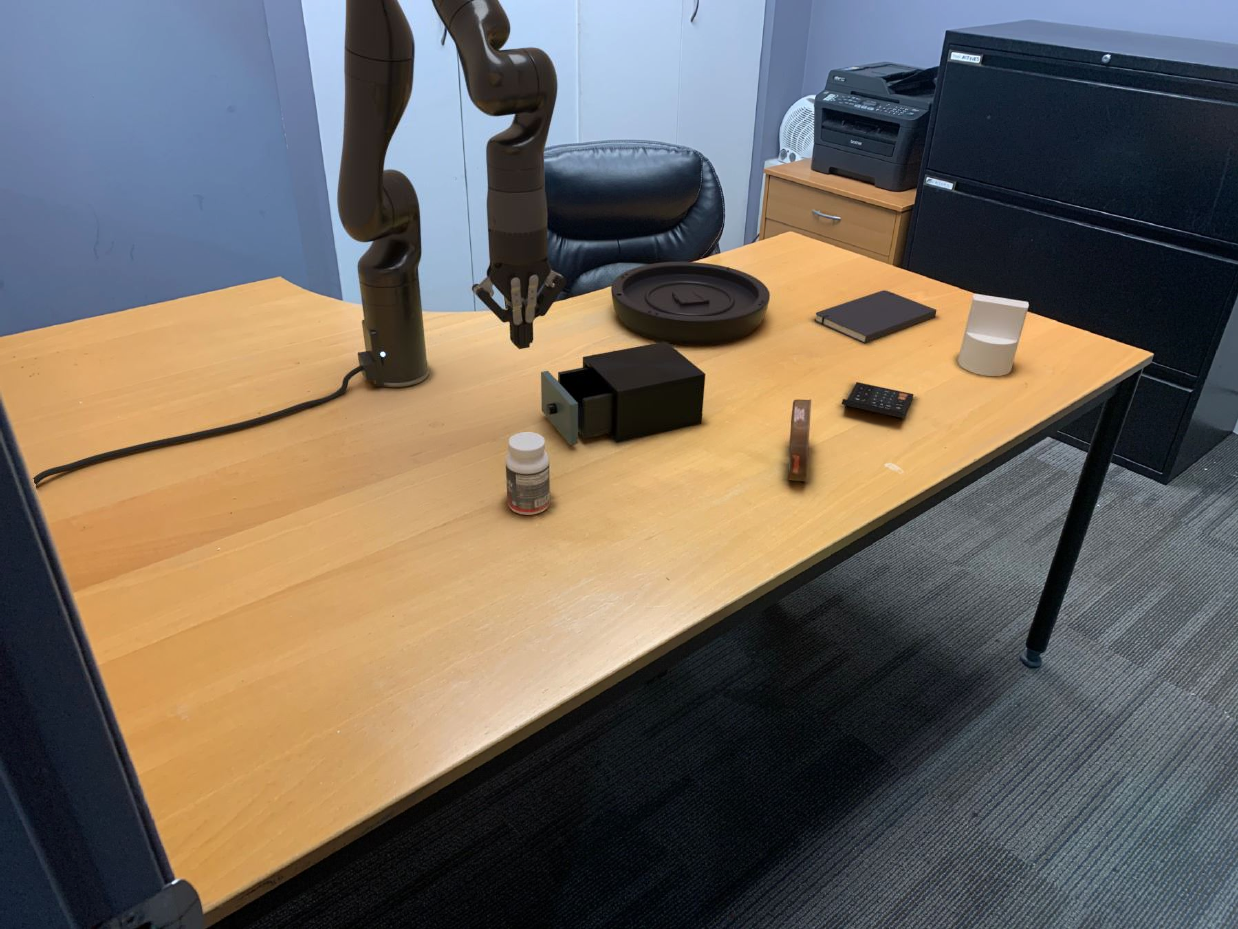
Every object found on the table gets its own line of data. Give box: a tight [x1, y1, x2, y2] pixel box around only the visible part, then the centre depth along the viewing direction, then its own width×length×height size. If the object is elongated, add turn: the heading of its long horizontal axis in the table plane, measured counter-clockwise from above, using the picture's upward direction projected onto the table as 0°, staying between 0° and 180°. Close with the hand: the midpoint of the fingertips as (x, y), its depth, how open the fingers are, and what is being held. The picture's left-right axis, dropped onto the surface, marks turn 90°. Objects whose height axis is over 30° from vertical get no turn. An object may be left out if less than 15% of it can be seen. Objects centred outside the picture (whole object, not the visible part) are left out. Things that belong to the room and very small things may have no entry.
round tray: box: [610, 261, 771, 346], centre depth 178 cm, size 30×6×30 cm
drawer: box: [540, 366, 616, 446], centre depth 141 cm, size 15×11×7 cm
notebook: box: [814, 289, 938, 344], centre depth 180 cm, size 13×2×21 cm
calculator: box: [841, 381, 914, 419], centre depth 149 cm, size 9×12×3 cm
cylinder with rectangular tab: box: [957, 293, 1030, 377], centre depth 161 cm, size 9×9×12 cm
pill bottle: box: [505, 431, 551, 516], centre depth 122 cm, size 6×6×10 cm
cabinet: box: [582, 341, 706, 444], centre depth 144 cm, size 15×13×9 cm
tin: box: [787, 398, 812, 483], centre depth 132 cm, size 15×3×8 cm, turn 168°
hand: (521, 346), depth 126 cm, fingers closed
